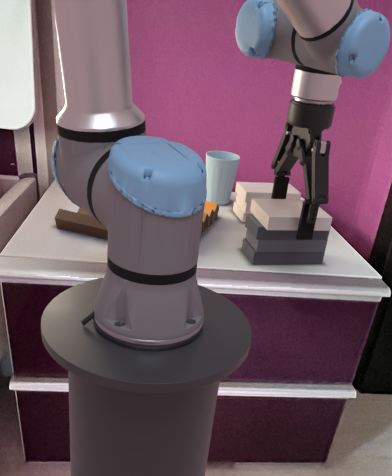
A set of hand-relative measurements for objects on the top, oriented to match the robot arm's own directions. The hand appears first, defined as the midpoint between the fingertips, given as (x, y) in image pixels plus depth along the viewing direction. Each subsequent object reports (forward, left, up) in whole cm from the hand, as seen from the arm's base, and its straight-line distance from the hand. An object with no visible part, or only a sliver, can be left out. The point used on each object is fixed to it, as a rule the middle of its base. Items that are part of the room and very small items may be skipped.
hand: (289, 224), depth 103 cm
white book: (0, 0, +1) cm, 1 cm away
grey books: (0, 0, -6) cm, 6 cm away
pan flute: (-24, +17, -7) cm, 30 cm away
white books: (+4, +21, -6) cm, 22 cm away
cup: (-4, +31, -7) cm, 32 cm away
